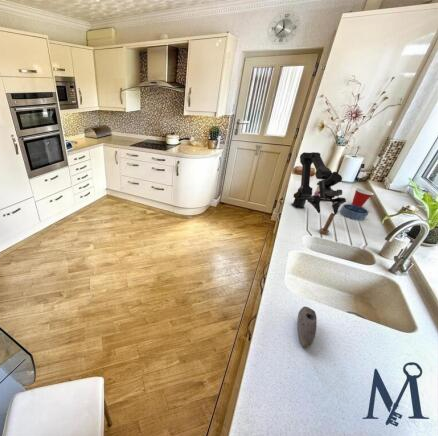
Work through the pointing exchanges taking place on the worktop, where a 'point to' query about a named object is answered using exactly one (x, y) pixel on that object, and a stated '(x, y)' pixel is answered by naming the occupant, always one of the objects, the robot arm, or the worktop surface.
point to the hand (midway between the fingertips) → (327, 213)
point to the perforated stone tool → (306, 326)
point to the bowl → (354, 212)
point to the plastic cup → (361, 197)
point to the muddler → (327, 225)
